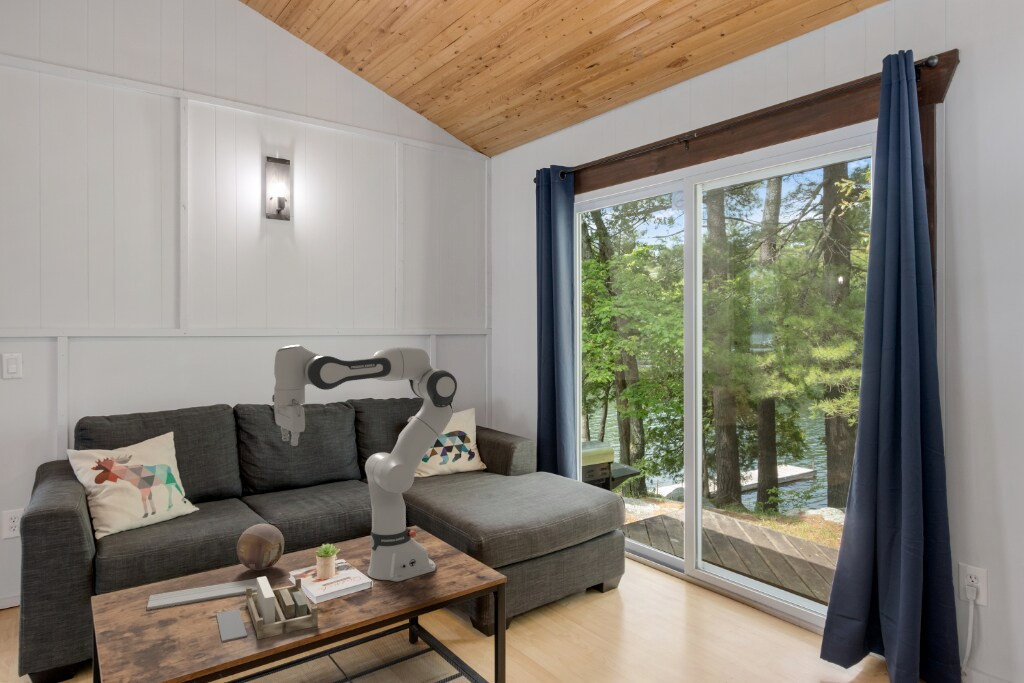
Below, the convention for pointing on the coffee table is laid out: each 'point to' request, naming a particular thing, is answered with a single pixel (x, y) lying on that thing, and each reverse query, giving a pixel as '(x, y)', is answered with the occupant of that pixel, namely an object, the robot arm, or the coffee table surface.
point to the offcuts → (292, 603)
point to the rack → (281, 614)
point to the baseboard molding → (201, 594)
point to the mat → (231, 625)
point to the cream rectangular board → (265, 601)
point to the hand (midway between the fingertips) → (289, 443)
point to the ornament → (260, 546)
